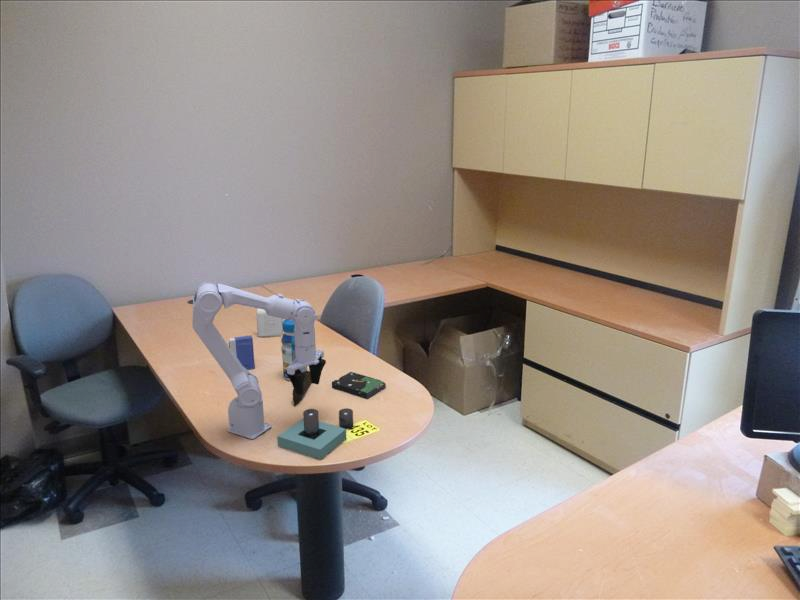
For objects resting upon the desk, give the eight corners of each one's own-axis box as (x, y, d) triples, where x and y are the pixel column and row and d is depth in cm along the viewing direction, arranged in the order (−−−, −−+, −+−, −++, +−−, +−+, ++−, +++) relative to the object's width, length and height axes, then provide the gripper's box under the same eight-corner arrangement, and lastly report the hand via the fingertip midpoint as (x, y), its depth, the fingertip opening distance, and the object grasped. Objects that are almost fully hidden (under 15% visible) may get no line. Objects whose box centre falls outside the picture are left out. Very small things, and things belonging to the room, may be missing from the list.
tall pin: (301, 443, 159) (300, 413, 156) (311, 436, 162) (310, 407, 159) (312, 447, 157) (311, 417, 154) (322, 441, 160) (321, 411, 157)
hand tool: (303, 380, 198) (302, 368, 196) (314, 381, 197) (313, 368, 196) (285, 407, 180) (284, 393, 178) (298, 407, 179) (297, 393, 178)
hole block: (278, 446, 158) (277, 436, 157) (305, 426, 168) (304, 417, 167) (320, 459, 151) (320, 449, 150) (346, 438, 161) (346, 428, 160)
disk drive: (331, 390, 192) (367, 400, 184) (330, 382, 191) (367, 392, 183) (350, 378, 200) (386, 388, 192) (350, 371, 199) (386, 380, 191)
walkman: (253, 365, 209) (251, 334, 205) (254, 368, 207) (252, 336, 203) (230, 369, 206) (227, 337, 202) (232, 372, 204) (229, 340, 200)
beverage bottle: (305, 381, 196) (302, 325, 190) (280, 381, 196) (277, 325, 191) (310, 371, 204) (307, 317, 198) (285, 371, 205) (282, 316, 199)
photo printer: (283, 332, 242) (281, 304, 238) (283, 336, 238) (281, 307, 234) (257, 334, 240) (255, 305, 236) (257, 338, 236) (255, 308, 232)
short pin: (336, 427, 167) (336, 413, 166) (344, 421, 171) (343, 407, 169) (348, 430, 166) (348, 416, 164) (355, 424, 169) (355, 410, 168)
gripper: (300, 355, 156) (302, 401, 160) (331, 338, 168) (333, 381, 172) (279, 350, 159) (282, 396, 163) (312, 334, 171) (313, 377, 175)
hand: (307, 388), depth 168 cm, fingers open, 7 cm apart
